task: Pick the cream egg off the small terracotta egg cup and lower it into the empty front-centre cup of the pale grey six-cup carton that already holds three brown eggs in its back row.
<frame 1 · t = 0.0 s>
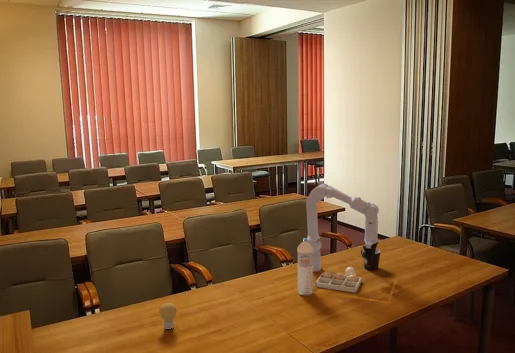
hand: (370, 258, 207), 10 cm above the table, fingers open, 7 cm apart
coffee mug: (370, 269, 220), on the table
water bottle: (305, 293, 195), on the table
egg: (350, 276, 209), point 1 cm above the table, touching egg cup
egg cup: (350, 278, 209), on the table
light bulb: (169, 328, 167), on the table
carton: (338, 286, 201), on the table
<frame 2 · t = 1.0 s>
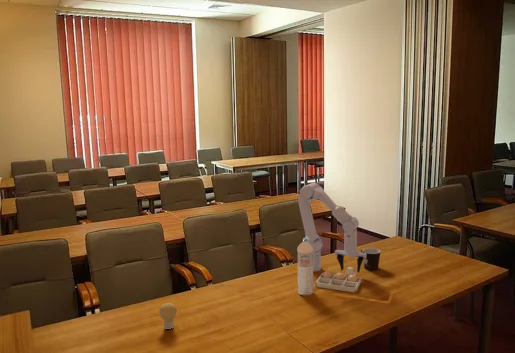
hand: (350, 270, 209), 4 cm above the table, fingers open, 7 cm apart
nothing on the table moved.
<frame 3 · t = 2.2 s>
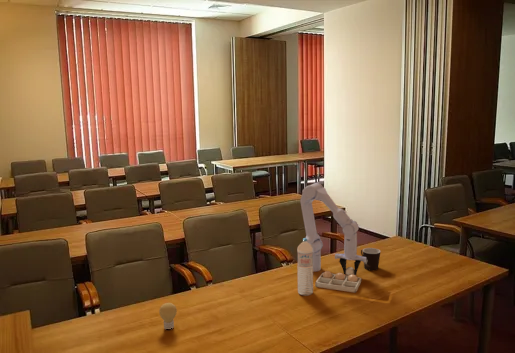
hand: (350, 274, 209), 2 cm above the table, fingers closed on egg, 4 cm apart
egg: (350, 276, 209), point 1 cm above the table, touching egg cup, gripper
everything else where it was.
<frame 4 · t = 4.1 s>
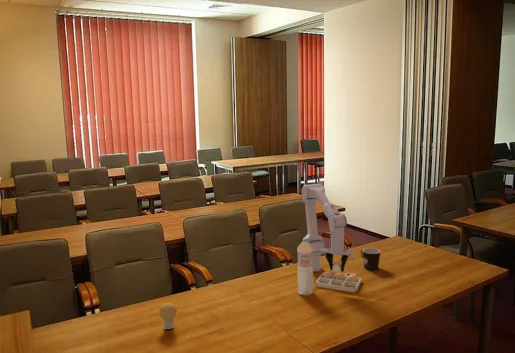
hand: (337, 270, 196), 9 cm above the table, fingers closed on egg, 4 cm apart
egg: (337, 272, 197), point 8 cm above the table, touching gripper
everything else where it was.
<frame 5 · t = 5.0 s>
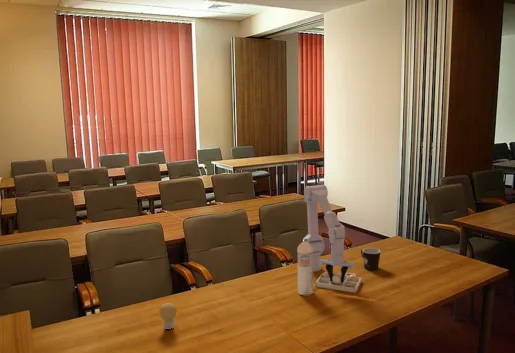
hand: (337, 281, 197), 4 cm above the table, fingers closed on egg, 4 cm apart
egg: (337, 283, 197), point 3 cm above the table, touching gripper
everything else where it was.
when the fingers open (3 cm above the table, at t = 5.9 s): egg drops 2 cm, resting on carton.
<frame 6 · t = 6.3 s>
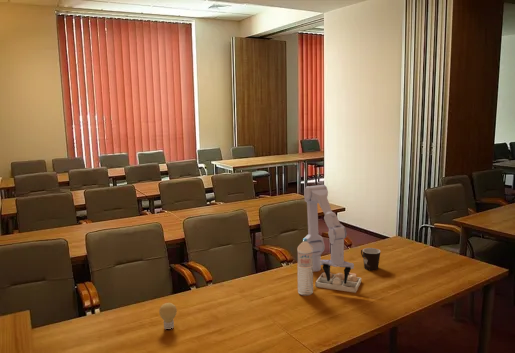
hand: (337, 281, 197), 3 cm above the table, fingers open, 7 cm apart
egg: (337, 287, 198), point 1 cm above the table, touching carton
everything else where it was.
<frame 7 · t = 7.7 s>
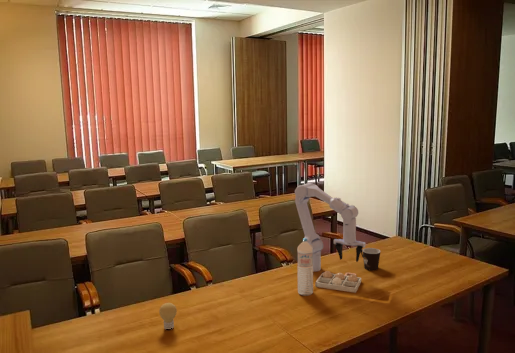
hand: (349, 260, 205), 10 cm above the table, fingers open, 7 cm apart
nothing on the table moved.
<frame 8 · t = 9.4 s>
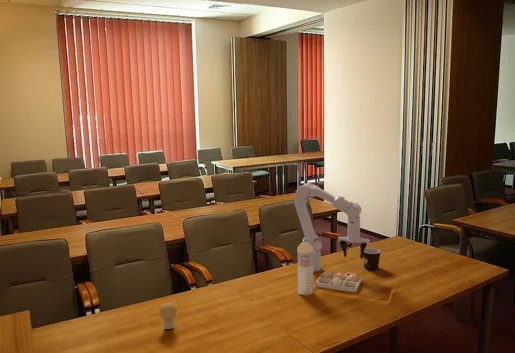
hand: (353, 257, 209), 10 cm above the table, fingers open, 7 cm apart
nothing on the table moved.
at the end: egg 0.1 cm from the target spot on the carton, point 0.8 cm above the carton's base; the gripper is holding nothing; egg point 0.8 cm above the table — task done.
